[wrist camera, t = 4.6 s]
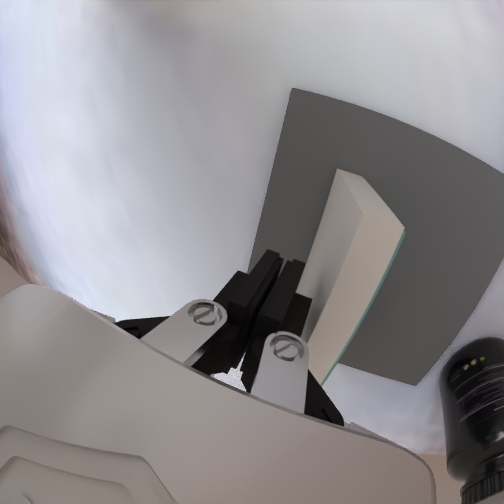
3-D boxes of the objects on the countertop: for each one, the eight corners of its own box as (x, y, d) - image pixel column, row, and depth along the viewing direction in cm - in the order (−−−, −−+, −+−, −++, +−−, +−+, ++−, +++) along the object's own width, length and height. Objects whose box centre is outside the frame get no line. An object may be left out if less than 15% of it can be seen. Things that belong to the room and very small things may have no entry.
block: (337, 168, 14) (362, 213, 8) (365, 177, 14) (410, 229, 8) (290, 306, 18) (279, 396, 12) (314, 312, 18) (312, 403, 12)
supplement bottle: (514, 368, 14) (542, 486, 4) (449, 403, 18) (453, 524, 8) (503, 317, 14) (554, 459, 3) (427, 361, 17) (433, 512, 7)
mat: (294, 89, 13) (291, 87, 13) (525, 190, 10) (529, 192, 10) (237, 319, 21) (234, 323, 21) (415, 380, 18) (415, 385, 18)
